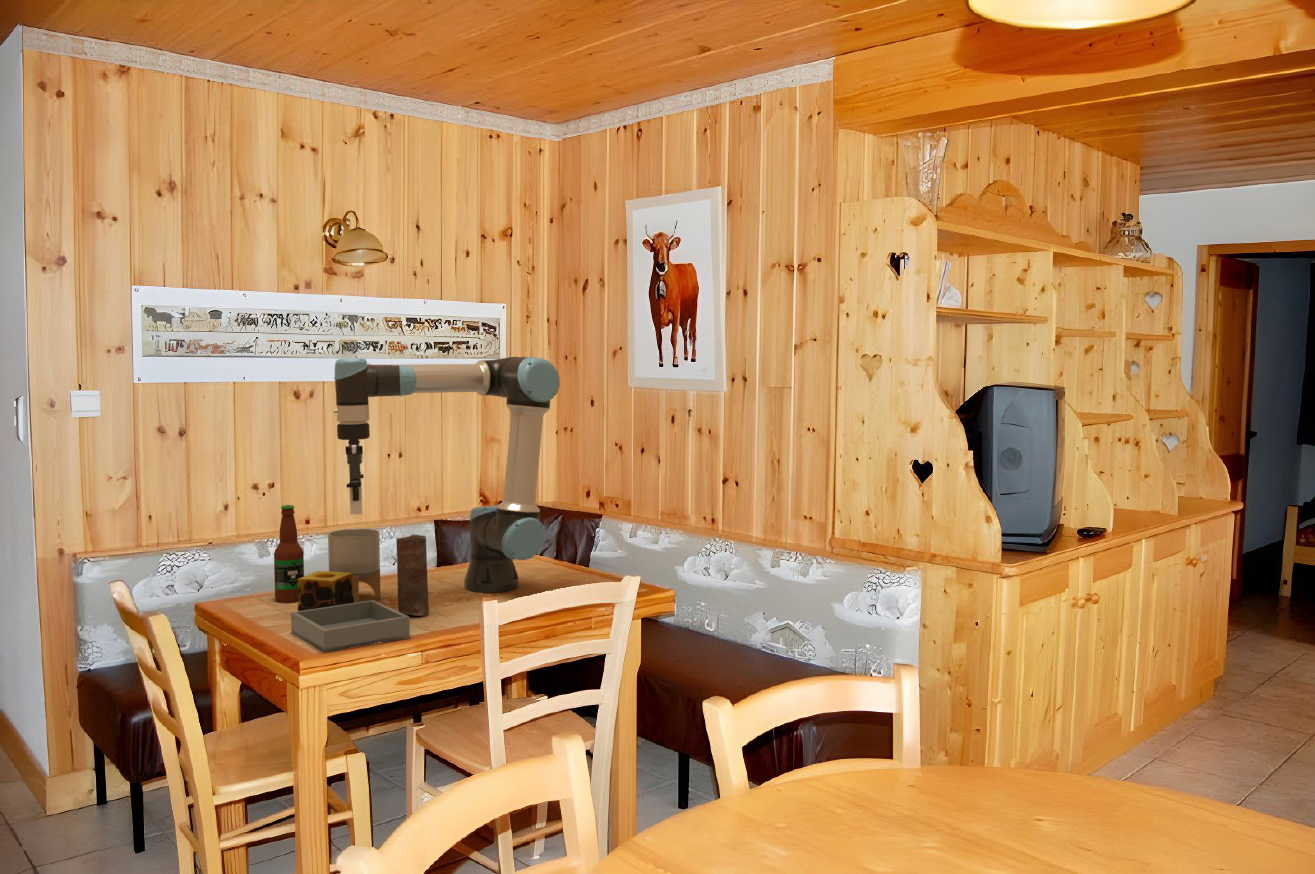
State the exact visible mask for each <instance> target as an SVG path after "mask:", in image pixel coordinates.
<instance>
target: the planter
mask: <svg viewBox="0 0 1315 874" xmlns="http://www.w3.org/2000/svg"><path fill="white" fill-rule="evenodd" d="M380 545H381V543H380V531H379V530H377V529H373V528H358V527H357V528H355V527H354V528H343V529H342V528H341V529H336V530H332V531H329V532H328V534H327V548H328V549H327V552H328V553H327V554H328V571H330V572H349V573H352V574H353V577H352V581H353V582H352V585H353V596H354V598H353V599H354V603H356V602H360V586H359V585H360V584H359V583H360V582H361V583H365V584H366V585H368V586H369V587H370V588H371V589H372V590H373V592H374V595H375V596H374V598H375V599H381V597H382V596H381V559H380V558H381V554H380V553H381V552H380V551H381V550H380V549H381V548H380V547H381V546H380Z"/></svg>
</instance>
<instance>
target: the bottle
mask: <svg viewBox="0 0 1315 874" xmlns="http://www.w3.org/2000/svg"><path fill="white" fill-rule="evenodd" d="M280 509H281V513H280V514H281V515H282V516H281V521H280V524H279V525H280V526H279V542H278V545H277V547H276V548H275V549H274V553H273V565H274V568H273V569H274V573H273V574H274V599H275V601H276V602H277V603H283V604H290V603H299V594H298V592H299V585H298V579H299V578H302V577H304V576H305V561H304V559H305V556H304V555H305V554H304V549H303V548H302V546H301V544H300V543H299V541H298V529H297V528H298V527H297V522H296V517H295V516H294V514H295V513H296V512H295V510H294V509H295V505H293V504H285V505H282V506H281V507H280Z"/></svg>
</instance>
